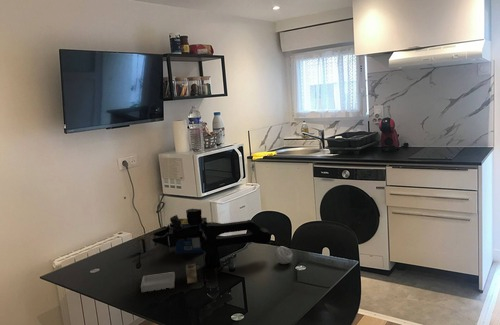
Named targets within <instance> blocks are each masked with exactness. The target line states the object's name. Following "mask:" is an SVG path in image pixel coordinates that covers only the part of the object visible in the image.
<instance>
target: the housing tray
mask: <svg viewBox="0 0 500 325" xmlns="http://www.w3.org/2000/svg"><path fill="white" fill-rule="evenodd" d="M175 279H176V275H175V271H171V272H162V273H155V274H148V275H143V276H142V280H141V284H140V290H141V292H140V293H146V292H147V291H148V292H153V291H154V290H155V291H161V289H162V290H167V289H166V288H169V289H175V285H176V284H175V282H176V280H175ZM148 292H147V293H148Z"/></svg>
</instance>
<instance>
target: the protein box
mask: <svg viewBox="0 0 500 325" xmlns="http://www.w3.org/2000/svg"><path fill="white" fill-rule="evenodd" d="M179 219H180V221H181V224H182V225H185V226H186V227H187V226H192V225H190V224H188V223H187V217H185V218H179ZM202 220H204V221H206V222H208V220H207V217H202ZM193 226H195V225H193ZM199 229H202V228H201V224H199ZM202 234H203V236H205V235H204V231H203V229H202ZM174 248H175V254H176V255H177V254H182V255H183V254H205V251H204V250H202V248H201V243H200V240H199V238H193V239H187V241H185V240H178V242H176V246H175V247H174Z"/></svg>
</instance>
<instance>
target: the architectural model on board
mask: <svg viewBox="0 0 500 325" xmlns="http://www.w3.org/2000/svg"><path fill="white" fill-rule="evenodd" d="M154 233H155V232H151V233H149V234H148V235H145V234H143V235H141V236H139V237H138V238H137V242H138V243H137V244H138V252H139V254H144V252H146V253H147V252H149V251H151V250H153V249H155V248H158V247H159V243H156V242H153V240H152V239H154V238H158V236H155V235H154Z"/></svg>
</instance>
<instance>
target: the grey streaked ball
mask: <svg viewBox="0 0 500 325" xmlns="http://www.w3.org/2000/svg"><path fill="white" fill-rule="evenodd" d="M293 255H294V254H293V252H292V250H291V249H290V248H288V247H286V246H282V245H280V246H279V247H277V248H276V249H275V252H274V257H275V259H276V261H277V262H278V264H282V265H286V264H290V263H291V261H292V260H293Z"/></svg>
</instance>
